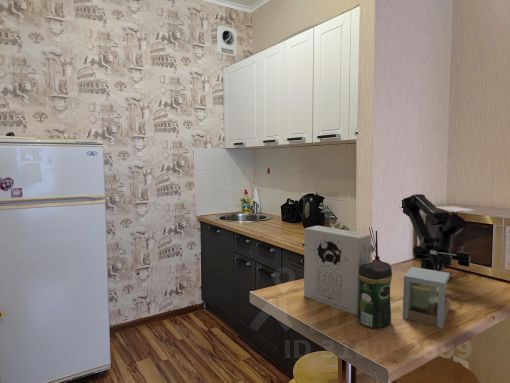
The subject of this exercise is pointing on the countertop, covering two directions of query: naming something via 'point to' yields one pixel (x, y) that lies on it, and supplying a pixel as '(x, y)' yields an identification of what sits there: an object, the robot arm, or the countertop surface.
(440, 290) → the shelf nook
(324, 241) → the cereal box
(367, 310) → the coffee jar
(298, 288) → the countertop surface
